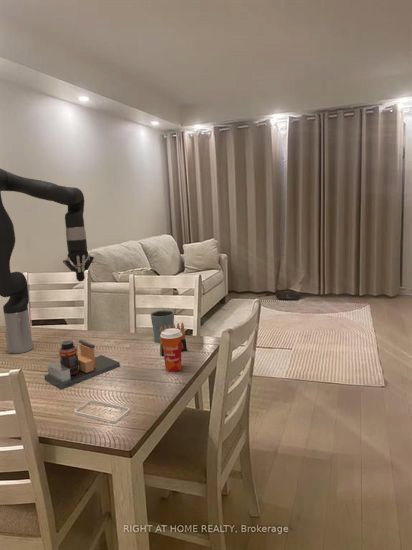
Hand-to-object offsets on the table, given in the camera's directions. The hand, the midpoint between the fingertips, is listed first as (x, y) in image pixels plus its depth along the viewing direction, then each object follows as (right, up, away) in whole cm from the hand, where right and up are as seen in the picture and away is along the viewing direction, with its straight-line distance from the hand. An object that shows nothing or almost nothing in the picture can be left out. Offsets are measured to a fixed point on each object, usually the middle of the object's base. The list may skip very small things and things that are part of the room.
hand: (80, 281), depth 162 cm
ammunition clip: (+38, -29, -4) cm, 48 cm away
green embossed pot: (+33, -26, +12) cm, 43 cm away
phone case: (+21, -38, -47) cm, 64 cm away
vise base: (+7, -33, -19) cm, 38 cm away
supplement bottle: (+3, -32, -22) cm, 39 cm away
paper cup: (+39, -31, -19) cm, 54 cm away
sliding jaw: (+7, -31, -19) cm, 37 cm away
